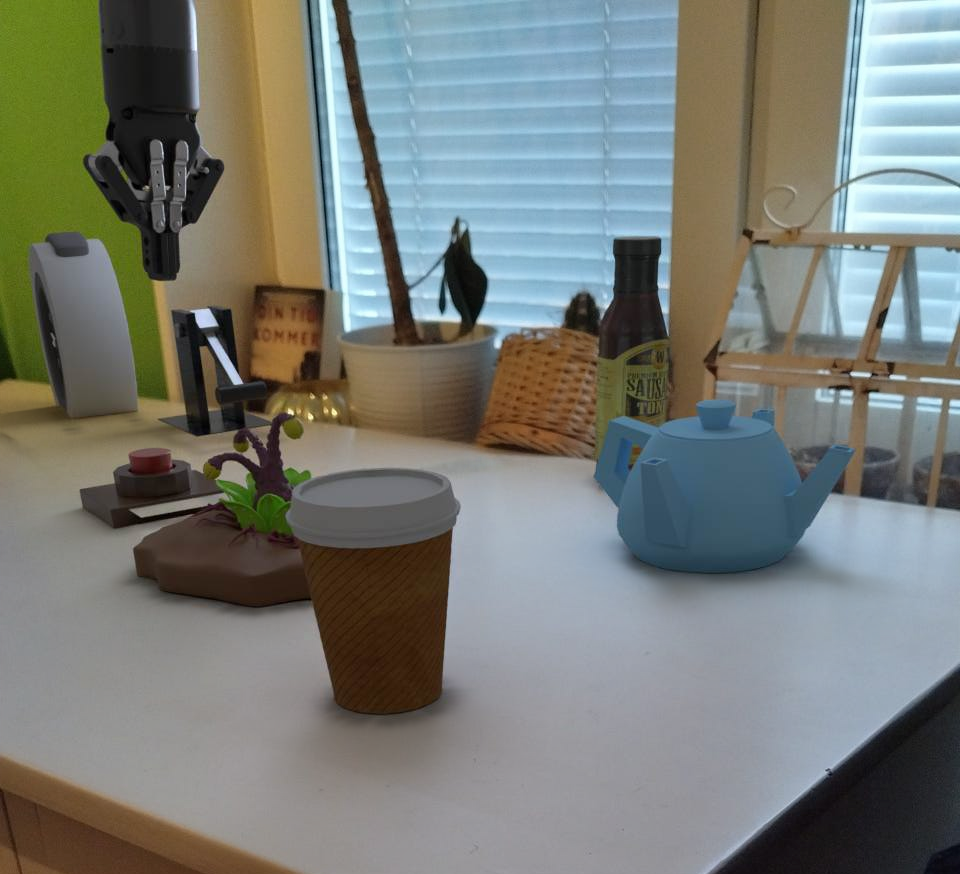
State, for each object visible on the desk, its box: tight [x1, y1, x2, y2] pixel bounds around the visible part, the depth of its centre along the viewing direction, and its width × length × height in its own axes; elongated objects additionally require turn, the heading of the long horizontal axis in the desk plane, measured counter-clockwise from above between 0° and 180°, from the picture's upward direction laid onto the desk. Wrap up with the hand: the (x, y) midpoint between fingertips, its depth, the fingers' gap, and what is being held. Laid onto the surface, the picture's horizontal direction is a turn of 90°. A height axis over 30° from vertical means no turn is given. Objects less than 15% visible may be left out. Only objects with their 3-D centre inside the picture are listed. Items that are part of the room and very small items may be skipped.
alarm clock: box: [28, 230, 139, 419], centre depth 151 cm, size 21×8×20 cm, turn 23°
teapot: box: [593, 398, 856, 574], centre depth 96 cm, size 15×15×11 cm
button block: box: [79, 458, 225, 530], centre depth 116 cm, size 11×9×4 cm
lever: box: [189, 308, 268, 406], centre depth 136 cm, size 12×5×2 cm
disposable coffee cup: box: [285, 467, 462, 715], centre depth 74 cm, size 10×10×12 cm
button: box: [128, 447, 173, 474], centre depth 115 cm, size 4×4×2 cm
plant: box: [132, 411, 312, 608], centre depth 98 cm, size 20×20×11 cm
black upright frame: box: [157, 304, 273, 437], centre depth 140 cm, size 12×9×13 cm
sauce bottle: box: [594, 235, 671, 471], centre depth 115 cm, size 6×6×20 cm
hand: (162, 279), depth 113 cm, fingers closed
